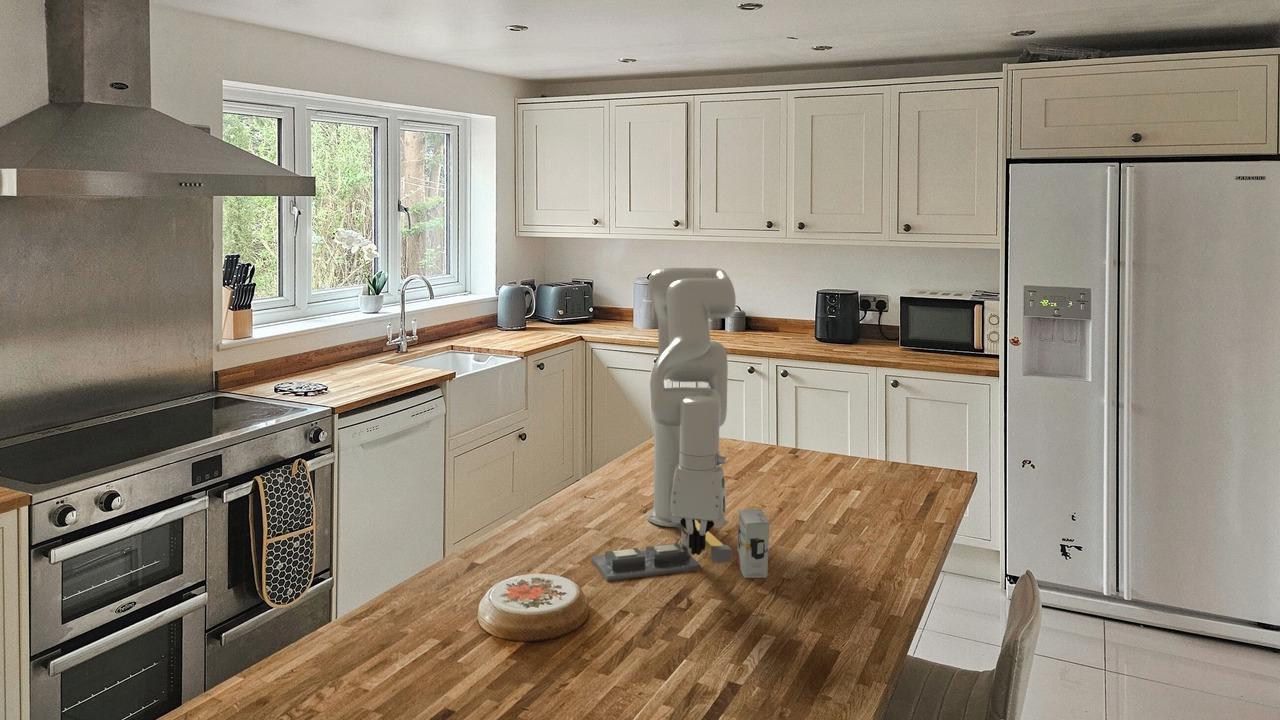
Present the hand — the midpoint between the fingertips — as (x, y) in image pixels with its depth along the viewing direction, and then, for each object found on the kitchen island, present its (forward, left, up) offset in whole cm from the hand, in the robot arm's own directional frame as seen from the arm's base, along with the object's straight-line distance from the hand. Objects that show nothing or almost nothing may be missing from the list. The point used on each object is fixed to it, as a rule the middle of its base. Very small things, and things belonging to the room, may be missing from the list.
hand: (697, 552), depth 189 cm
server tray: (+5, -14, -8) cm, 17 cm away
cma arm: (-3, -5, 0) cm, 6 cm away
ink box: (-15, -5, -8) cm, 17 cm away
